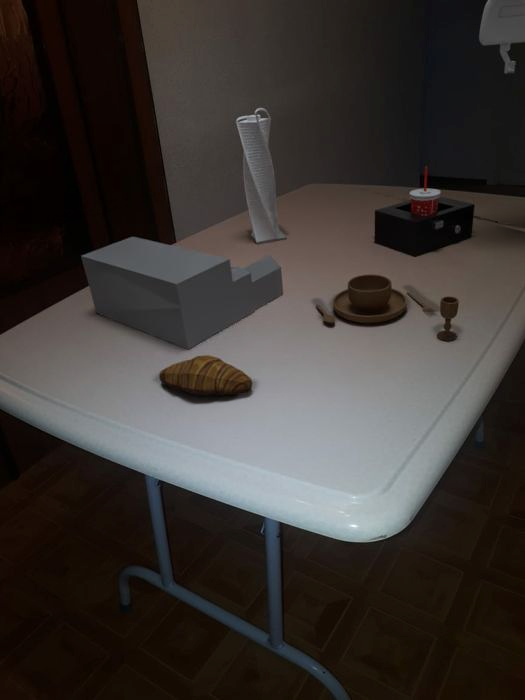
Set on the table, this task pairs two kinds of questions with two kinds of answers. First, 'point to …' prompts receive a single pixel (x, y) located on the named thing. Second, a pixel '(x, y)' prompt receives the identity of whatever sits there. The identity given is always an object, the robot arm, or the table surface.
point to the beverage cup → (424, 199)
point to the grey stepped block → (176, 289)
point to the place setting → (383, 303)
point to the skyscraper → (259, 178)
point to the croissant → (206, 377)
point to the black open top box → (423, 226)
